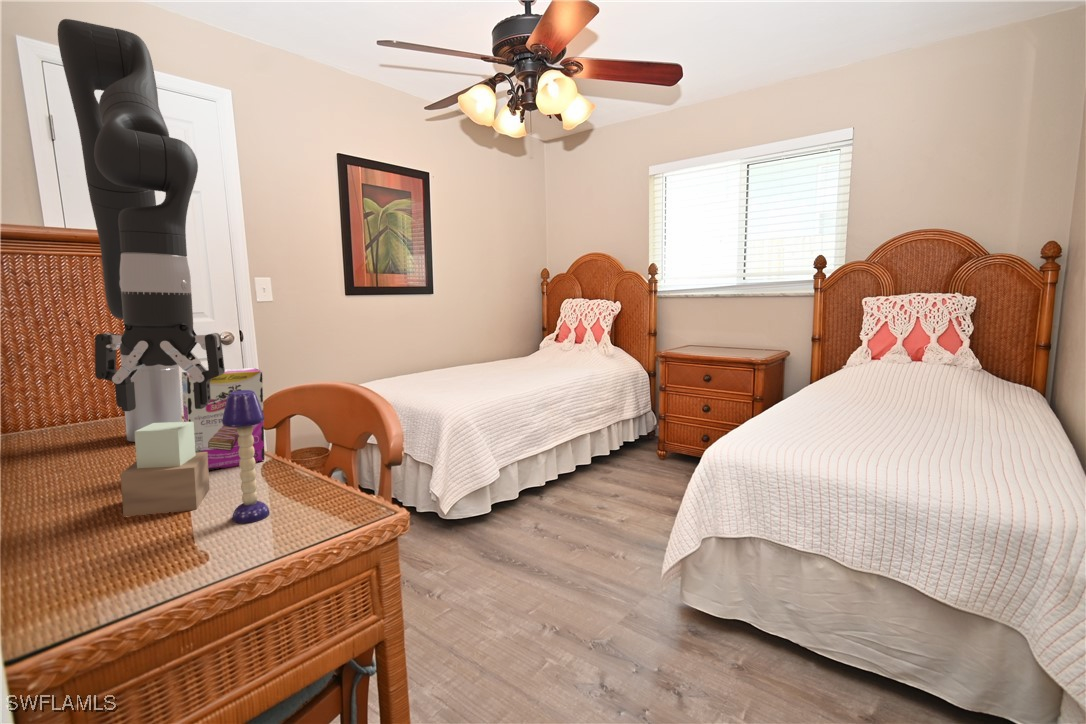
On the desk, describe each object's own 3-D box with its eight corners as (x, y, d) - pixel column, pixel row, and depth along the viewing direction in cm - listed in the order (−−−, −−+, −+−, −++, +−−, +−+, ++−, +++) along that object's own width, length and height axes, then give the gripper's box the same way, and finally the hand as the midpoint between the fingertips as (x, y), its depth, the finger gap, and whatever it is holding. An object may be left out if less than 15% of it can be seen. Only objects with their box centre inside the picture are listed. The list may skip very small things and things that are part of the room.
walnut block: (144, 497, 74) (141, 456, 73) (209, 490, 77) (207, 451, 76) (123, 519, 66) (120, 474, 66) (196, 510, 69) (194, 467, 69)
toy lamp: (262, 523, 65) (256, 394, 63) (221, 526, 64) (214, 394, 62) (273, 509, 70) (268, 388, 68) (235, 511, 69) (229, 388, 67)
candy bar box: (191, 475, 83) (185, 374, 81) (185, 468, 86) (179, 371, 84) (267, 461, 90) (263, 369, 89) (258, 455, 94) (254, 366, 92)
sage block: (155, 457, 73) (153, 422, 72) (195, 455, 74) (193, 421, 73) (137, 468, 68) (134, 431, 67) (180, 466, 69) (178, 429, 69)
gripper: (226, 291, 74) (232, 402, 76) (109, 288, 70) (118, 405, 72) (207, 291, 67) (214, 413, 69) (75, 288, 63) (86, 417, 65)
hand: (165, 409), depth 70 cm, fingers open, 8 cm apart
